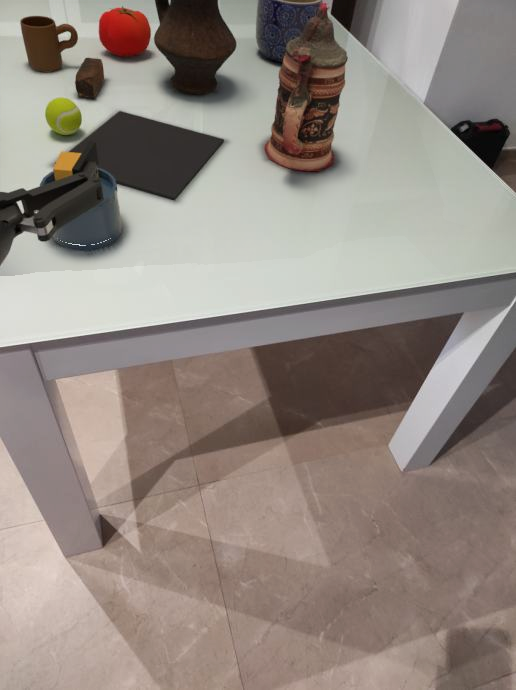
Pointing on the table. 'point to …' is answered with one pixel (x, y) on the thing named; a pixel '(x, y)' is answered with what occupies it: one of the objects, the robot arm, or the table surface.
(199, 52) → the jug
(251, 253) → the table surface
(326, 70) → the beer stein
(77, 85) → the brick
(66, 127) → the tennis ball
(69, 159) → the block
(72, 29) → the mug
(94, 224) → the blue paint bucket
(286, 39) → the planter
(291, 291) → the table surface
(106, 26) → the tomato
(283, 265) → the table surface
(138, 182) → the mat
